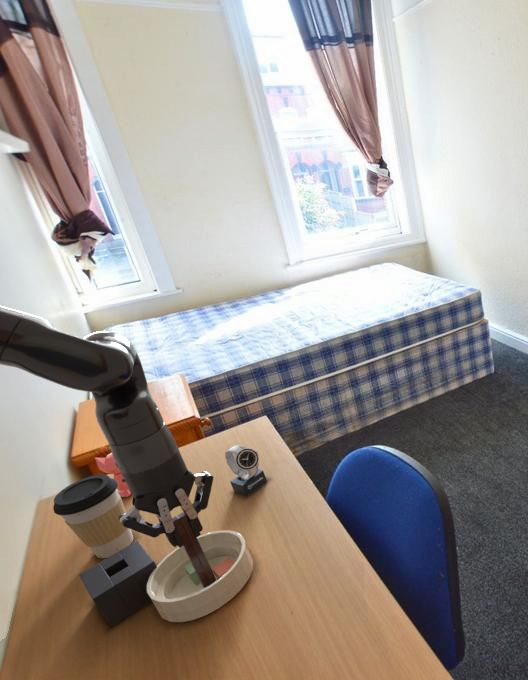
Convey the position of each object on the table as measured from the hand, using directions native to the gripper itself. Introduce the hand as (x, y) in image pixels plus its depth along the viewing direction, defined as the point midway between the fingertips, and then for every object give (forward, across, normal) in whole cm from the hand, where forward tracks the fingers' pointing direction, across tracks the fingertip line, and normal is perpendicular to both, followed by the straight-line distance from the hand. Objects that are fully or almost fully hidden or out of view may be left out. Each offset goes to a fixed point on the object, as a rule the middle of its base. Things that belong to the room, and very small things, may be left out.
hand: (188, 539), depth 79 cm
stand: (+13, -9, +12) cm, 20 cm away
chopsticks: (+11, 0, 0) cm, 11 cm away
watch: (+13, +18, +23) cm, 32 cm away
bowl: (+13, 0, +2) cm, 13 cm away
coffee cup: (+13, -7, +30) cm, 34 cm away
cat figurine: (+13, +1, +48) cm, 50 cm away
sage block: (+12, 0, +5) cm, 13 cm away
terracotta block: (+12, +3, 0) cm, 12 cm away
